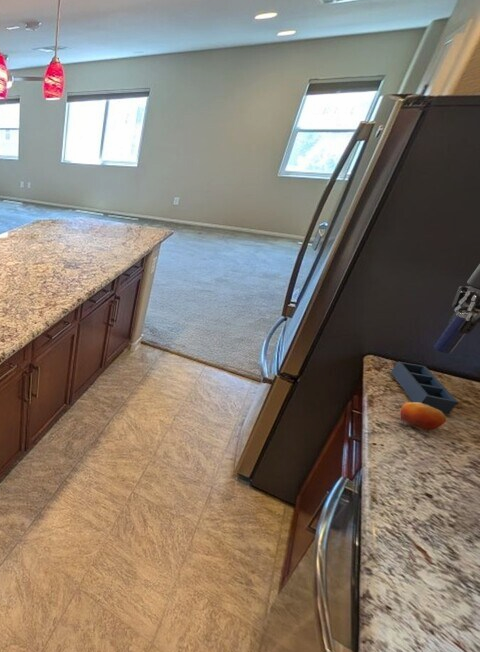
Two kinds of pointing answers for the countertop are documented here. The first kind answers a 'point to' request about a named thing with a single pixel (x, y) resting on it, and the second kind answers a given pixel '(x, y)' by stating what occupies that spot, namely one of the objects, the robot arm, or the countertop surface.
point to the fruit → (422, 416)
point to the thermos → (451, 333)
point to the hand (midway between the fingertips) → (458, 328)
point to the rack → (423, 386)
